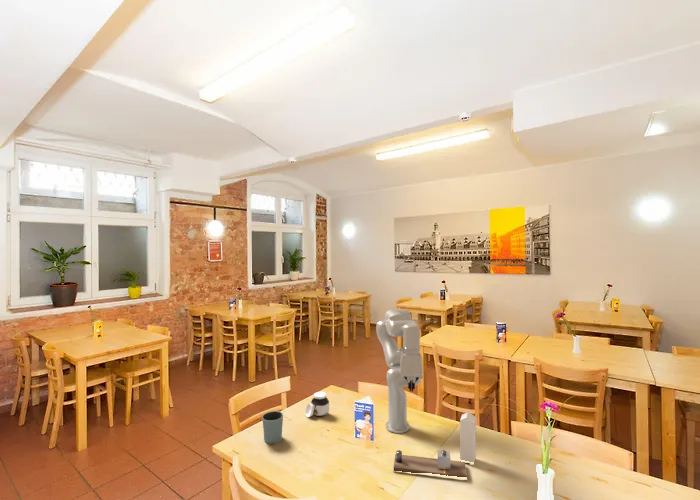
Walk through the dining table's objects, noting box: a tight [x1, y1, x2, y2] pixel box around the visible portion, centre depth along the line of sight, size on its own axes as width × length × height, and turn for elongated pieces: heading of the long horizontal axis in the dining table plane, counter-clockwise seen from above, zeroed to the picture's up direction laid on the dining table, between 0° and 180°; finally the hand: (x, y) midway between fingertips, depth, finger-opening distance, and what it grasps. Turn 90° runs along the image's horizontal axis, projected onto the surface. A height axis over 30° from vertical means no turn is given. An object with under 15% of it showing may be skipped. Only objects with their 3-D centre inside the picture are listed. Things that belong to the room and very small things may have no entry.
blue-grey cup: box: [261, 410, 284, 445], centre depth 178 cm, size 10×10×12 cm
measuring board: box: [393, 453, 468, 478], centre depth 154 cm, size 10×30×2 cm, turn 78°
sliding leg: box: [437, 449, 451, 470], centre depth 153 cm, size 5×5×6 cm
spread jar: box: [305, 391, 330, 418], centre depth 203 cm, size 12×11×12 cm
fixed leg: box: [395, 449, 403, 463], centre depth 156 cm, size 2×2×4 cm
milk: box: [459, 409, 477, 462], centre depth 160 cm, size 6×6×22 cm
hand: (411, 390), depth 166 cm, fingers closed
